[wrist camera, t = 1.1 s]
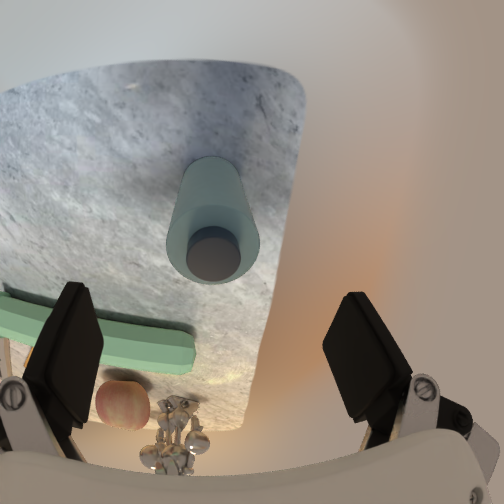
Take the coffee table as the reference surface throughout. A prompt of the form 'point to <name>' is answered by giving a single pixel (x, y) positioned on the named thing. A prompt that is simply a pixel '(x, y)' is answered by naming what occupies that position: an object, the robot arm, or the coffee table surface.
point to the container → (107, 339)
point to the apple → (123, 404)
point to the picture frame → (5, 359)
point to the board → (28, 357)
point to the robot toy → (175, 454)
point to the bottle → (212, 225)
